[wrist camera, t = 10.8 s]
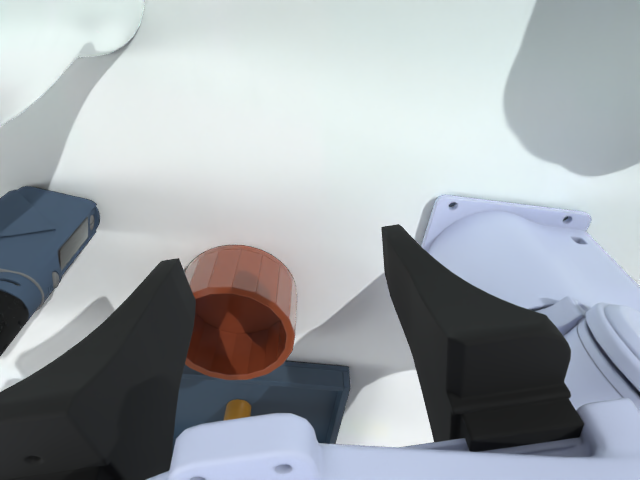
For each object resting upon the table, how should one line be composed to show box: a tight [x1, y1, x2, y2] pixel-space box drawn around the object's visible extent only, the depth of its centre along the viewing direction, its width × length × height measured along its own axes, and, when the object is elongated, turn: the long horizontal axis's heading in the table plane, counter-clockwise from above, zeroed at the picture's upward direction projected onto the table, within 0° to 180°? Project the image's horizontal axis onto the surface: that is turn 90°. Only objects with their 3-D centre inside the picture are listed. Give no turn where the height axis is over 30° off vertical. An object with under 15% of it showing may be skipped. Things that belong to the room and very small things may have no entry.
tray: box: [172, 361, 350, 456], centre depth 35 cm, size 16×10×2 cm, turn 82°
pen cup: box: [185, 245, 297, 380], centre depth 28 cm, size 8×8×4 cm
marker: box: [223, 399, 251, 421], centre depth 32 cm, size 2×2×8 cm
